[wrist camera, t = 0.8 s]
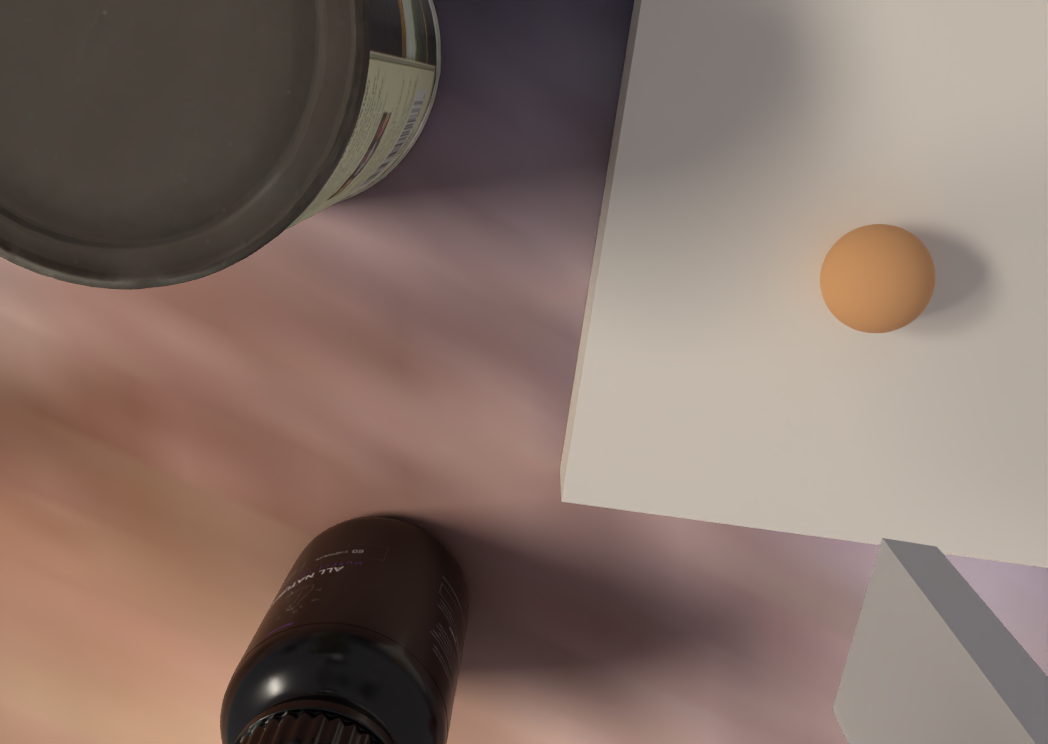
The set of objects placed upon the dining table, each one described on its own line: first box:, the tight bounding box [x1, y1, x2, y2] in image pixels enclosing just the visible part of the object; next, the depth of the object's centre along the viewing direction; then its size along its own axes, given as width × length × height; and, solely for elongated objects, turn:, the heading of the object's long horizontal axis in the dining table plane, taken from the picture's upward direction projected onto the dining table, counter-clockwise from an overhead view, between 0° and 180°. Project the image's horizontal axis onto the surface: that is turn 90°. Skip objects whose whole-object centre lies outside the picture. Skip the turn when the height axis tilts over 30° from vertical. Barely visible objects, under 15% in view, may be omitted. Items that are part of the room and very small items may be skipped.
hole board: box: [560, 0, 1048, 568], centre depth 32 cm, size 18×28×3 cm, turn 82°
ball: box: [820, 224, 936, 333], centre depth 29 cm, size 3×3×3 cm
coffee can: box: [0, 0, 441, 289], centre depth 25 cm, size 10×10×14 cm
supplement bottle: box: [220, 517, 469, 744], centre depth 32 cm, size 7×7×12 cm
